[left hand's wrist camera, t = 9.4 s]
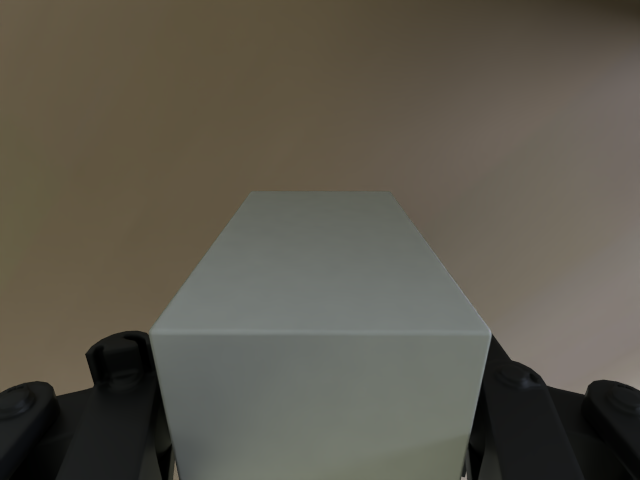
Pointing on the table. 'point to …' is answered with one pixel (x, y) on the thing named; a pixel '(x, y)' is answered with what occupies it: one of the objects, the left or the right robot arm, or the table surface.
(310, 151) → the table surface
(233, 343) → the bar
